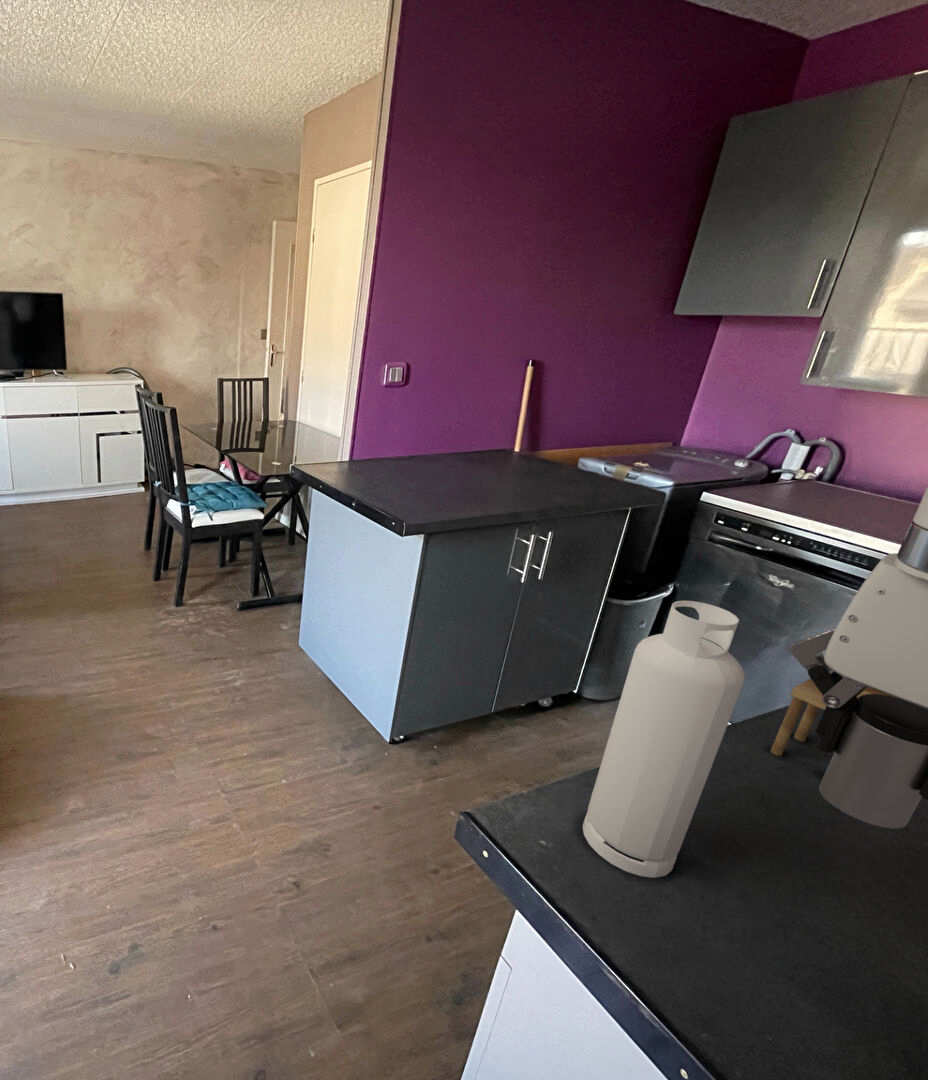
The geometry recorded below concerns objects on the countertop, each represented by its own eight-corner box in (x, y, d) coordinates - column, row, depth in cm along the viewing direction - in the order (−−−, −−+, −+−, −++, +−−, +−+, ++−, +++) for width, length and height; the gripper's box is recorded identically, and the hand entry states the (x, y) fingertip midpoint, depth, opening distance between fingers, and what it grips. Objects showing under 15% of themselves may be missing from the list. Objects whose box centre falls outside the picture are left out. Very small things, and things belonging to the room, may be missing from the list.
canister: (833, 773, 51) (874, 686, 48) (919, 814, 46) (970, 722, 43) (805, 793, 49) (845, 704, 45) (892, 838, 44) (943, 744, 41)
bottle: (636, 813, 66) (711, 592, 56) (693, 877, 58) (791, 634, 48) (566, 815, 66) (629, 593, 56) (614, 879, 58) (696, 635, 48)
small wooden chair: (794, 734, 78) (828, 658, 74) (862, 766, 73) (902, 686, 69) (766, 752, 75) (799, 673, 71) (834, 786, 70) (874, 703, 66)
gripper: (1233, 596, 34) (1073, 829, 41) (840, 516, 48) (769, 697, 55) (1207, 626, 31) (1039, 872, 38) (796, 531, 45) (726, 721, 52)
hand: (879, 766), depth 46 cm, fingers closed on canister, 5 cm apart
